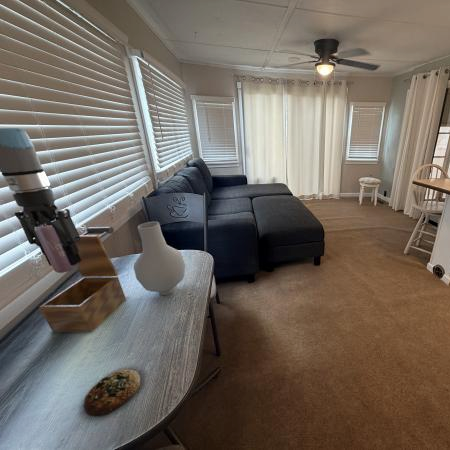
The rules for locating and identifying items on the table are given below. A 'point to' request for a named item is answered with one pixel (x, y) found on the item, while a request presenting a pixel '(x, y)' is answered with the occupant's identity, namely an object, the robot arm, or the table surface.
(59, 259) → the beverage can
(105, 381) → the bread roll
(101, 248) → the chest lid
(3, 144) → the robot arm
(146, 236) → the vase
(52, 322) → the chest
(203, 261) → the table surface
